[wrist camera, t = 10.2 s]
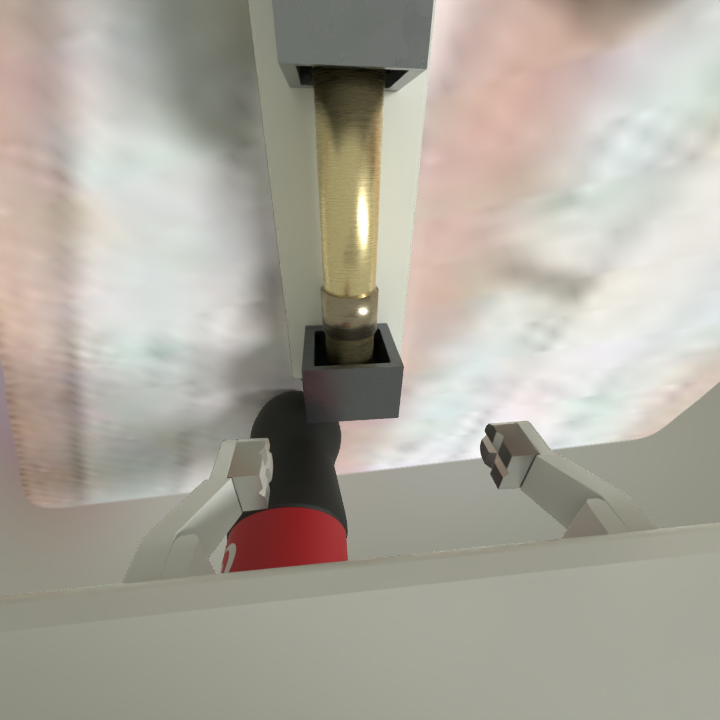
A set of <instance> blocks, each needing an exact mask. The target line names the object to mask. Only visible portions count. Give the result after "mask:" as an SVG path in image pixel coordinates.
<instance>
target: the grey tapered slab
mask: <svg viewBox="0 0 720 720" xmlns="http://www.w3.org/2000/svg"><path fill="white" fill-rule="evenodd" d="M433 2H434V0H272V4H273V15H274V26H275V37H276V48H277V58H278V64H279V66H280V68H281V70H282V72H283V74H284V76H285V79H286V81H287V83H288V85H289V87H290V88H313V69H312V66H319V67H343V68H366V69H385V87H384V91H399V90H400V89H401V88H403V87H404V86H405V85H407V84H408V83H409V82H411V81H412V80H413V79H415V78H416V77H417V76H419V75H420V74H421V73H423V72H424V71H425V70H426V69H427V64H428V54H429V44H430V33H431V23H432V13H433Z"/></svg>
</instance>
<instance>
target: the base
mask: <svg viewBox="0 0 720 720" xmlns="http://www.w3.org/2000/svg"><path fill="white" fill-rule="evenodd" d="M435 4H436V0H434V2H433V13H432V23H431V33H430V44H429V54H428V64H427V69H426V70H425V71H424V72H423V73H421V74H420V75H419V76H417V77H416V78H415V79H413V80H412V81H411V82H409V83H408V84H407V85H405V86H404V87H403V88H401V89H400V90H399V91H384V110H383V133H382V156H381V180H380V203H379V226H378V249H377V272H376V286H377V287H378V289H379V293H378V313H377V323H387V324H388V327H389V329H390V332H391V335H392V337H393V340H394V342H395V345H396V348H397V350H398V353H399V355H400V358H401V348H402V337H403V327H404V317H405V307H406V297H407V287H408V277H409V267H410V257H411V246H412V236H413V226H414V216H415V206H416V196H417V186H418V176H419V165H420V155H421V145H422V135H423V125H424V115H425V105H426V95H427V85H428V74H429V64H430V54H431V44H432V34H433V24H434V14H435ZM248 6H249V14H250V22H251V31H252V39H253V47H254V55H255V64H256V72H257V80H258V88H259V97H260V105H261V113H262V122H263V130H264V138H265V146H266V155H267V163H268V171H269V179H270V188H271V196H272V204H273V213H274V221H275V229H276V237H277V246H278V254H279V262H280V270H281V279H282V287H283V295H284V304H285V312H286V320H287V328H288V337H289V345H290V353H291V361H292V370H293V378H294V379H302V359H303V347H304V335H305V326H313V325H322V309H321V291H320V289H321V287H322V286H323V272H322V251H321V231H320V211H319V191H318V170H317V150H316V130H315V109H314V89H313V88H290V87H289V85H288V83H287V81H286V79H285V76H284V74H283V72H282V70H281V68H280V66H279V64H278V58H277V48H276V37H275V26H274V15H273V4H272V0H248Z"/></svg>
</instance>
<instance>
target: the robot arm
mask: <svg viewBox="0 0 720 720" xmlns="http://www.w3.org/2000/svg"><path fill="white" fill-rule="evenodd" d="M485 433H486V434H487V435H486V436H485V437H484V438H483V439H482V441H481V444H480V451H481V456H482V459H483V461H484V463H485V464H486V465H487V466H489V467H490V468H491V473H490V474H491V476H492V478H493V480H494V482H495V484H496V485H497V488H498V489H514V488H521V490H522V491H523V492H524V493H525V494H526V495H528V496H529V497H530V498H531V499H532V500H534V501H535V502H536V503H537V504H538V505H539V506H540V507H542V508H543V509H544V510H545V511H547V513H549V514H550V515H551V516H552V517H553V518H554V519H556V520H557V521H558V522H559V523H560V524H562V525H563V526H564V527H565V528H566V529H567V530H566V531H565V533H564V534H563V536H562V537H561V539H555V540H545V541H535V542H526V543H516V544H506V545H496V546H486V547H476V548H466V549H456V550H446V551H436V552H427V553H417V554H408V555H397V556H388V557H378V558H369V559H358V560H349V561H339V562H329V563H319V564H309V565H299V566H290V567H280V568H270V569H260V570H250V571H240V572H231V573H221V574H216V573H215V571H214V569H213V567H212V565H211V563H210V561H209V559H208V558H209V557H210V556H211V554H212V553H213V552H214V550H215V549H216V547H217V546H218V545H219V544H220V542H221V541H222V539H223V538H224V537H225V536H226V534H227V533H228V532H229V530H230V529H231V528H232V526H233V525H234V524H235V522H236V521H237V520H238V518H239V517H240V516H241V514H242V512H243V511H252V510H261V509H268V502H269V496H270V488H269V483H270V481H271V480H272V474H273V458H272V453H270V452H269V448H270V443H269V439H268V438H255V439H236V440H224V441H223V442H222V443H221V446H220V449H219V452H218V455H217V458H216V461H215V464H214V467H213V470H212V473H211V476H210V479H209V480H204V481H203V482H202V483H201V484H200V485H199V486H198V487H197V488H196V489H195V490H193V491H192V492H191V493H190V494H189V495H188V496H187V497H186V498H185V499H184V500H183V501H182V502H181V503H179V504H178V505H177V506H176V507H175V508H174V509H173V510H172V511H171V512H170V513H169V514H167V515H166V516H165V517H164V518H163V519H162V520H161V521H160V522H159V523H158V524H157V525H156V526H155V527H153V528H152V529H151V530H150V531H149V532H148V533H147V534H146V535H145V536H144V537H143V538H142V540H141V542H140V544H139V546H138V549H137V551H136V553H135V555H134V557H133V560H132V562H131V564H130V566H129V568H128V570H127V573H126V575H125V577H124V579H123V581H122V583H121V584H112V585H102V586H91V587H82V588H72V589H62V590H52V591H42V592H32V593H22V594H12V595H1V596H0V720H720V523H712V524H702V525H692V526H682V527H673V528H663V529H658V528H657V527H656V526H655V525H654V524H653V523H652V522H651V520H650V519H649V518H648V517H647V516H646V515H645V514H644V512H643V511H642V510H641V509H640V508H639V507H638V506H637V505H636V503H635V502H634V501H633V500H632V499H631V498H630V497H629V495H627V494H626V493H624V492H622V491H621V490H619V489H617V488H616V487H614V486H612V485H610V484H609V483H607V482H605V481H604V480H602V479H600V478H598V477H597V476H595V475H593V474H592V473H590V472H588V471H587V470H585V469H583V468H581V467H580V466H578V465H576V464H575V463H573V462H571V461H569V460H568V459H566V458H564V457H563V456H561V455H559V454H554V453H553V452H552V450H551V449H550V448H549V446H548V445H547V444H546V443H545V441H544V440H543V439H542V437H541V436H540V435H539V433H538V432H537V431H536V429H535V428H534V427H533V426H532V424H531V423H530V422H528V421H519V422H505V423H491V424H488V425H487V426H486V428H485Z"/></svg>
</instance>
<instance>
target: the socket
mask: <svg viewBox="0 0 720 720" xmlns="http://www.w3.org/2000/svg"><path fill="white" fill-rule="evenodd" d="M403 369H404V366H403V363H402V360H401V358H400V355H399V353H398V350H397V348H396V345H395V342H394V340H393V337H392V335H391V332H390V329H389V327H388V324H387V323H377V330H376V332H375V334H374V341H373V364H354V365H332V366H327V353H326V334H325V333H324V332H323V328H322V325H313V326H305V335H304V347H303V359H302V381H303V391H304V400H305V410H306V420H307V423H320V422H336V421H352V420H368V419H384V418H398V415H399V406H400V397H401V387H402V378H403Z"/></svg>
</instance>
